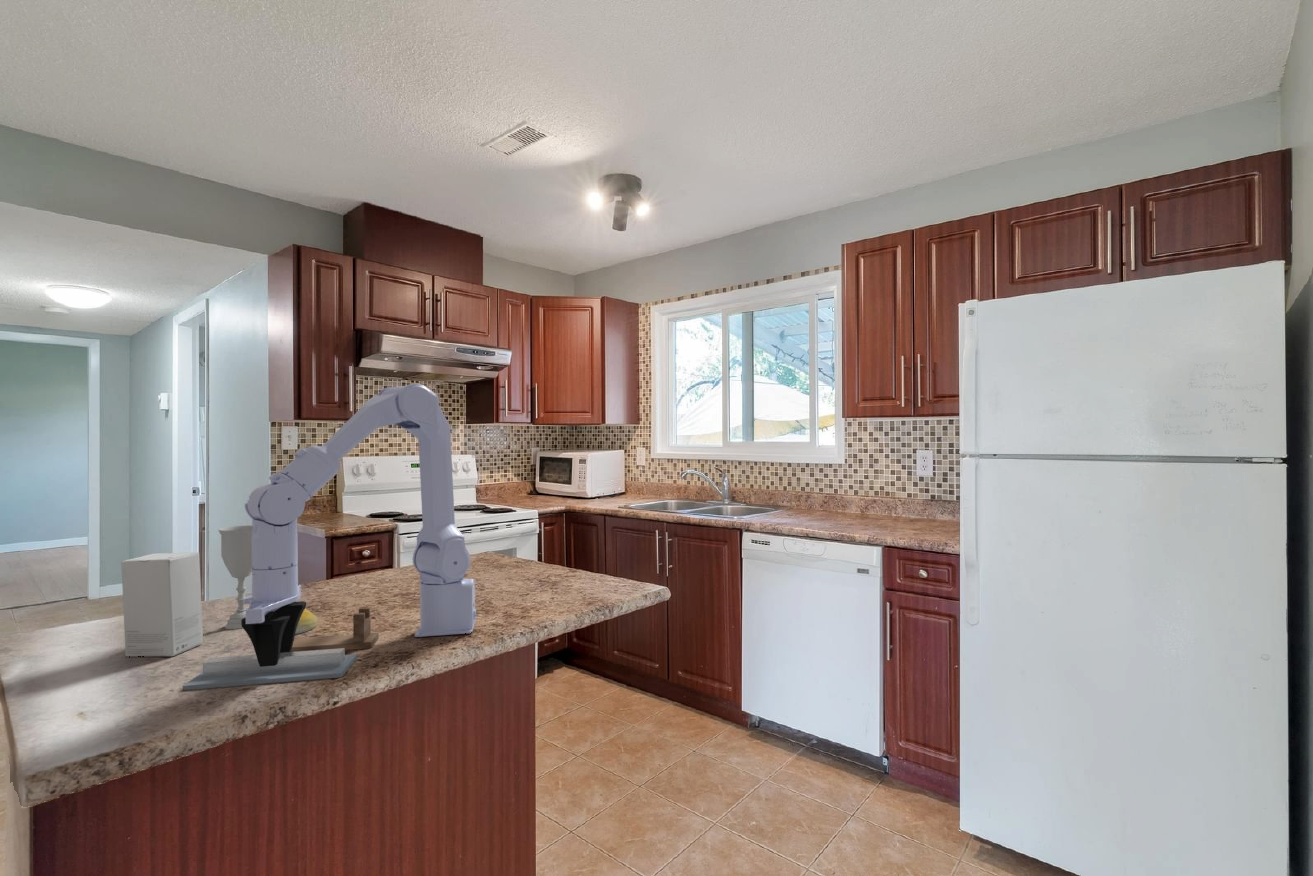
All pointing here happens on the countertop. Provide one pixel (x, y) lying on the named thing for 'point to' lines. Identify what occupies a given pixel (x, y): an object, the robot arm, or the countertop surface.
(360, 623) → the cradle rack
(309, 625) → the bread roll
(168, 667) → the countertop surface
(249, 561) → the chalice
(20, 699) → the countertop surface
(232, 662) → the steel rail
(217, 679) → the slate mat
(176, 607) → the skincare box
